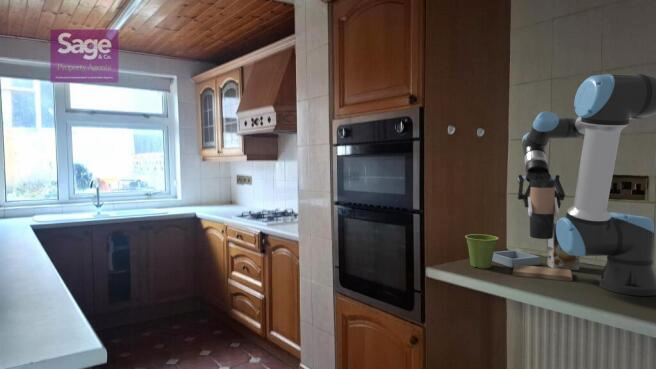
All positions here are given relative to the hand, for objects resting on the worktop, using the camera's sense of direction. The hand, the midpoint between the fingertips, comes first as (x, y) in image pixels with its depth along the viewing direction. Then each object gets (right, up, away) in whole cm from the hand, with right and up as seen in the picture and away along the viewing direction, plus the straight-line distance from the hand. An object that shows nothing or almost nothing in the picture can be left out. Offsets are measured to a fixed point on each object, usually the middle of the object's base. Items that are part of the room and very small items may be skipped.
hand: (543, 214), depth 146 cm
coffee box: (+14, -21, +13) cm, 28 cm away
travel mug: (+1, -9, +4) cm, 9 cm away
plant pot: (-16, -21, +16) cm, 31 cm away
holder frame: (-1, -20, +22) cm, 30 cm away
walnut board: (+1, -21, +4) cm, 22 cm away
